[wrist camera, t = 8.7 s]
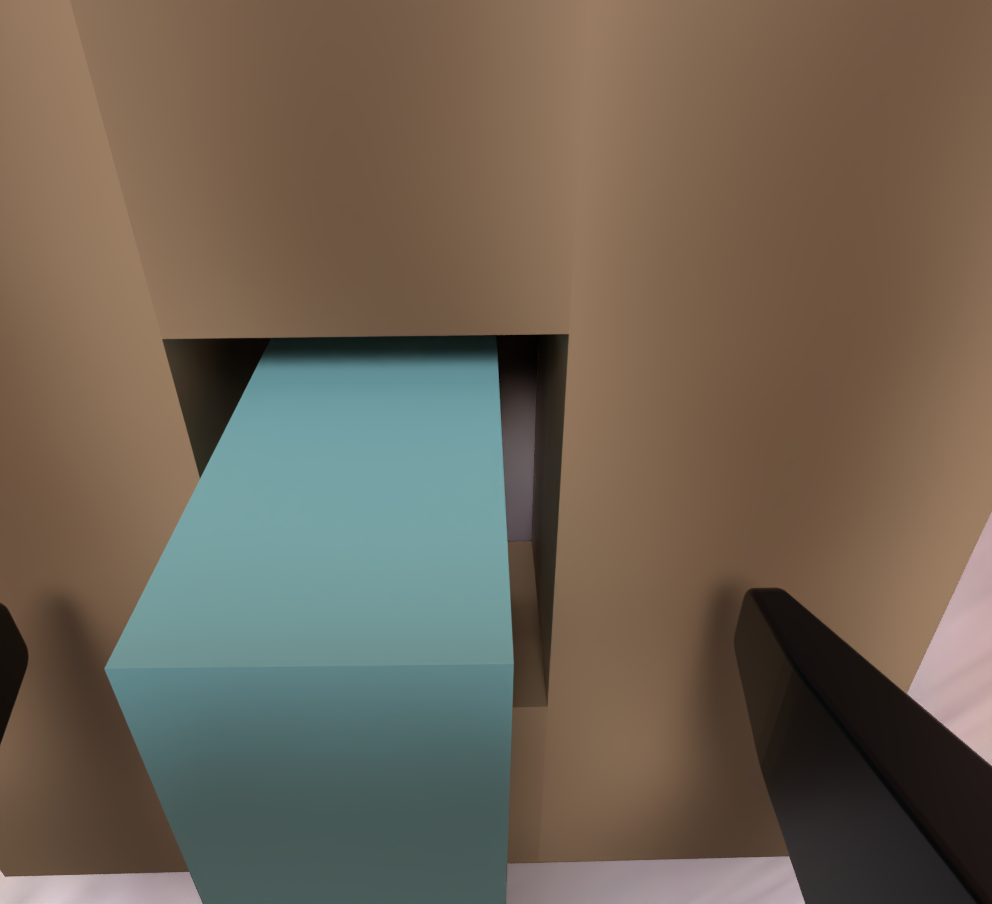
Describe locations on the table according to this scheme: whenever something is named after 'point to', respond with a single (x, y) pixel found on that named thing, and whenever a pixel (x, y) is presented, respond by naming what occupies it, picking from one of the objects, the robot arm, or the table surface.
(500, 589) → the keyed peg
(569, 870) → the table surface
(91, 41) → the socket block
